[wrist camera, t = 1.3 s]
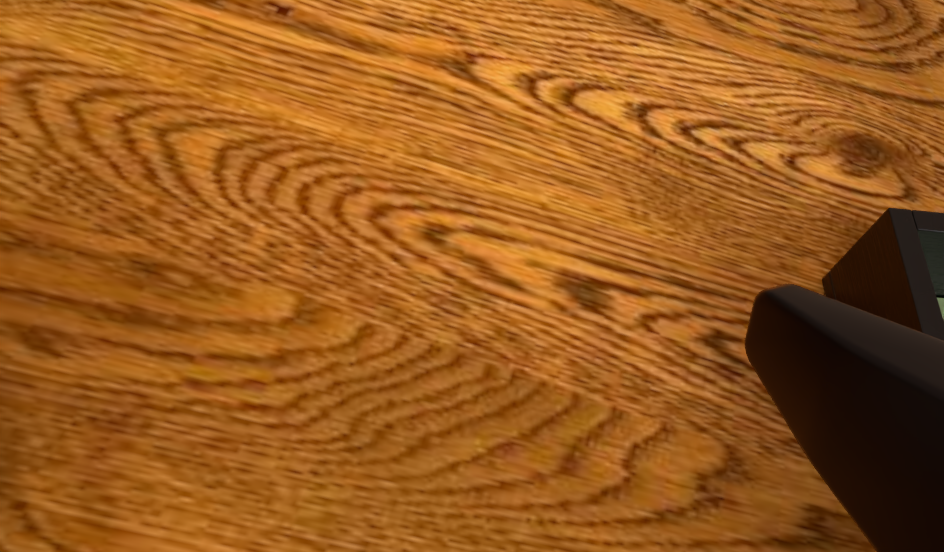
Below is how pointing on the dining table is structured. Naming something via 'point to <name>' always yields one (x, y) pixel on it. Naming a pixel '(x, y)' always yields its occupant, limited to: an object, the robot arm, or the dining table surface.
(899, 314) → the divided tray
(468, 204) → the dining table surface
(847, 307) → the robot arm
